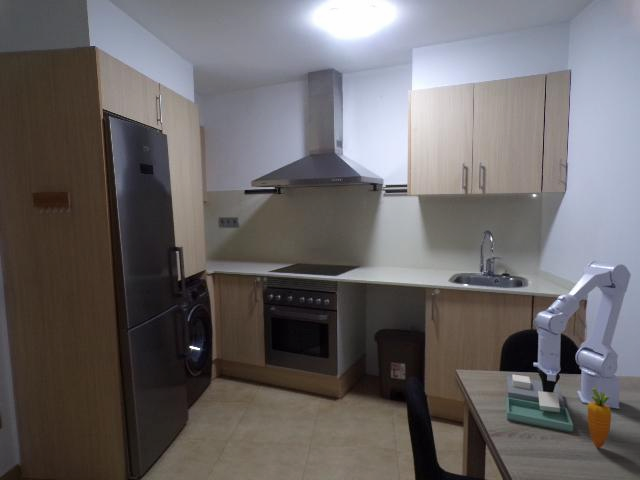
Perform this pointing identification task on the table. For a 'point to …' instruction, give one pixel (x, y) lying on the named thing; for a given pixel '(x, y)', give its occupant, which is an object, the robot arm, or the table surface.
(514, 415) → the box
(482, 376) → the table surface
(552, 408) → the tile
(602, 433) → the carrot
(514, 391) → the board
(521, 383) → the tile
